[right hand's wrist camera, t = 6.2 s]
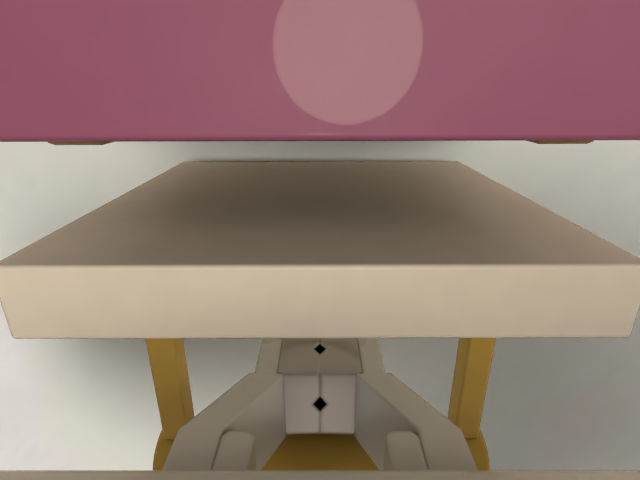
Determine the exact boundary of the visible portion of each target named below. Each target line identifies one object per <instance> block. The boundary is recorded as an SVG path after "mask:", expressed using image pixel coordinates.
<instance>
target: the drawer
mask: <svg viewBox="0 0 640 480" xmlns="http://www.w3.org/2000/svg"><path fill="white" fill-rule="evenodd" d="M526 141H530V142H533V143H537V144H587V143H590V142H593V141H594V140H526ZM111 142H115V141H57V142H48V143H51V144H54V145H104V144H108V143H111ZM0 301H1V304H2V307H3V311H4V314H5V317H6V320H7V323H8V326H9V329H10V332H11V335H12V337H13V338H15V339H101V338H146V344H147V349H148V354H149V359H150V365H151V370H152V375H153V381H154V386H155V391H156V396H157V402H158V407H159V412H160V418H161V423H162V428H163V429H162V431H161V433H160V436H159V439H158V442H157V445H156V449H155V454H154V461H153V471H162V468H163V466H164V464H165V461H166V459H167V456H168V454H169V452H170V449H171V447H172V445H173V442H174V440H175V437H176V435H177V433H178V430H179V429H180V428H181V427H183V426H184V425H185V424H186V423H188V422H189V421H190V420H191V419H193V418H194V411H193V404H192V397H191V391H190V384H189V377H188V371H187V364H186V357H185V351H184V344H183V338H459V344H458V351H457V358H456V365H455V372H454V379H453V385H452V392H451V399H450V406H449V413H448V420H450V421H451V422H452V423H453V424H455V425H456V426H457V427H458V428H460V429H461V430H462V432H463V435H464V437H465V439H466V442H467V444H468V447H469V449H470V452H471V454H472V456H473V459H474V461H475V464H476V466H477V468H478V471H490V469H489V458H488V452H487V448H486V444H485V441H484V438H483V435H482V432H481V430H480V428H479V426H480V421H481V416H482V410H483V405H484V399H485V394H486V389H487V383H488V378H489V372H490V367H491V361H492V356H493V351H494V345H495V340H496V338H626V337H629V336H630V334H631V331H632V328H633V325H634V322H635V319H636V316H637V313H638V310H639V307H640V259H639V258H638V257H636V256H634V255H632V254H630V253H628V252H626V251H624V250H623V249H621V248H619V247H617V246H615V245H613V244H611V243H609V242H608V241H606V240H604V239H602V238H600V237H598V236H596V235H594V234H593V233H591V232H589V231H587V230H585V229H583V228H581V227H579V226H578V225H576V224H574V223H572V222H570V221H568V220H566V219H564V218H563V217H561V216H559V215H557V214H555V213H553V212H551V211H549V210H548V209H546V208H544V207H542V206H540V205H538V204H536V203H534V202H533V201H531V200H529V199H527V198H525V197H523V196H521V195H519V194H518V193H516V192H514V191H512V190H510V189H508V188H506V187H504V186H503V185H501V184H499V183H497V182H495V181H493V180H491V179H489V178H488V177H486V176H484V175H482V174H480V173H478V172H476V171H474V170H473V169H471V168H469V167H467V166H465V165H463V164H461V163H459V162H457V161H391V162H183V163H181V164H179V165H177V166H175V167H174V168H172V169H170V170H168V171H166V172H164V173H162V174H161V175H159V176H157V177H155V178H153V179H151V180H149V181H148V182H146V183H144V184H142V185H140V186H138V187H137V188H135V189H133V190H131V191H129V192H127V193H125V194H124V195H122V196H120V197H118V198H116V199H114V200H112V201H111V202H109V203H107V204H105V205H103V206H101V207H100V208H98V209H96V210H94V211H92V212H90V213H88V214H87V215H85V216H83V217H81V218H79V219H77V220H75V221H74V222H72V223H70V224H68V225H66V226H64V227H62V228H61V229H59V230H57V231H55V232H53V233H51V234H50V235H48V236H46V237H44V238H42V239H40V240H38V241H37V242H35V243H33V244H31V245H29V246H27V247H25V248H24V249H22V250H20V251H18V252H16V253H14V254H13V255H11V256H9V257H7V258H5V259H3V260H1V261H0ZM344 470H379V469H378V467H377V466H376V465H375V463H374V462H373V461H372V459H371V458H370V457H369V455H368V454H367V453H366V451H365V450H364V449H363V447H362V446H361V445H360V443H359V442H358V440H357V439H356V438H355V436H354V434H323V433H316V434H286V437H285V438H284V440H283V441H282V442H281V444H280V445H279V446H278V448H277V449H276V450H275V452H274V453H273V454H272V456H271V457H270V458H269V460H268V461H267V462H266V464H265V465H264V466H263V468H262V469H261V470H260V471H344Z"/></svg>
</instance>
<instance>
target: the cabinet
mask: <svg viewBox="0 0 640 480" xmlns="http://www.w3.org/2000/svg"><path fill="white" fill-rule="evenodd" d="M439 140H640V0H0V142H57V141H439Z"/></svg>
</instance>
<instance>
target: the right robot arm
mask: <svg viewBox="0 0 640 480" xmlns="http://www.w3.org/2000/svg"><path fill="white" fill-rule="evenodd" d="M316 433H323V434H354V436H355V438H356V439H357V440H358V442H359V443H360V445H361V446H362V447H363V449H364V450H365V451H366V453H367V454H368V455H369V457H370V458H371V459H372V461H373V462H374V463H375V465H376V466H377V467H378V469H379V470H344V471H260V470H261V469H262V468H263V466H264V465H265V464H266V462H267V461H268V460H269V458H270V457H271V456H272V454H273V453H274V452H275V450H276V449H277V448H278V446H279V445H280V444H281V442H282V441H283V440H284V438H285V437H286V434H316ZM0 480H640V470H552V471H478V468H477V466H476V464H475V461H474V459H473V456H472V454H471V452H470V449H469V447H468V444H467V442H466V439H465V437H464V435H463V432H462V430H461V429H460V428H458V427H457V426H456V425H455V424H453V423H452V422H451V421H450V420H448V419H447V418H446V417H445V416H443V415H442V414H441V413H440V412H438V411H437V410H436V409H435V408H433V407H432V406H431V405H430V404H428V403H427V402H426V401H425V400H423V399H422V398H421V397H420V396H418V395H417V394H416V393H415V392H413V391H412V390H411V389H410V388H408V387H407V386H406V385H405V384H403V383H402V382H401V381H400V380H398V379H397V378H396V377H395V376H393V375H392V374H391V373H385V369H384V365H383V361H382V357H381V352H380V348H379V344H378V340H377V338H263V339H262V344H261V348H260V352H259V356H258V361H257V365H256V369H255V373H249V374H248V375H247V376H245V377H244V378H243V379H242V380H240V381H239V382H238V383H237V384H235V385H234V386H233V387H232V388H230V389H229V390H228V391H226V392H225V393H224V394H223V395H221V396H220V397H219V398H218V399H216V400H215V401H214V402H213V403H211V404H210V405H209V406H208V407H206V408H205V409H204V410H203V411H201V412H200V413H199V414H198V415H196V416H195V417H194V418H193V419H191V420H190V421H189V422H188V423H186V424H185V425H184V426H183V427H181V428H180V429H179V430H178V433H177V435H176V437H175V440H174V442H173V445H172V447H171V449H170V452H169V454H168V456H167V459H166V461H165V464H164V466H163V468H162V471H77V470H0Z"/></svg>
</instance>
